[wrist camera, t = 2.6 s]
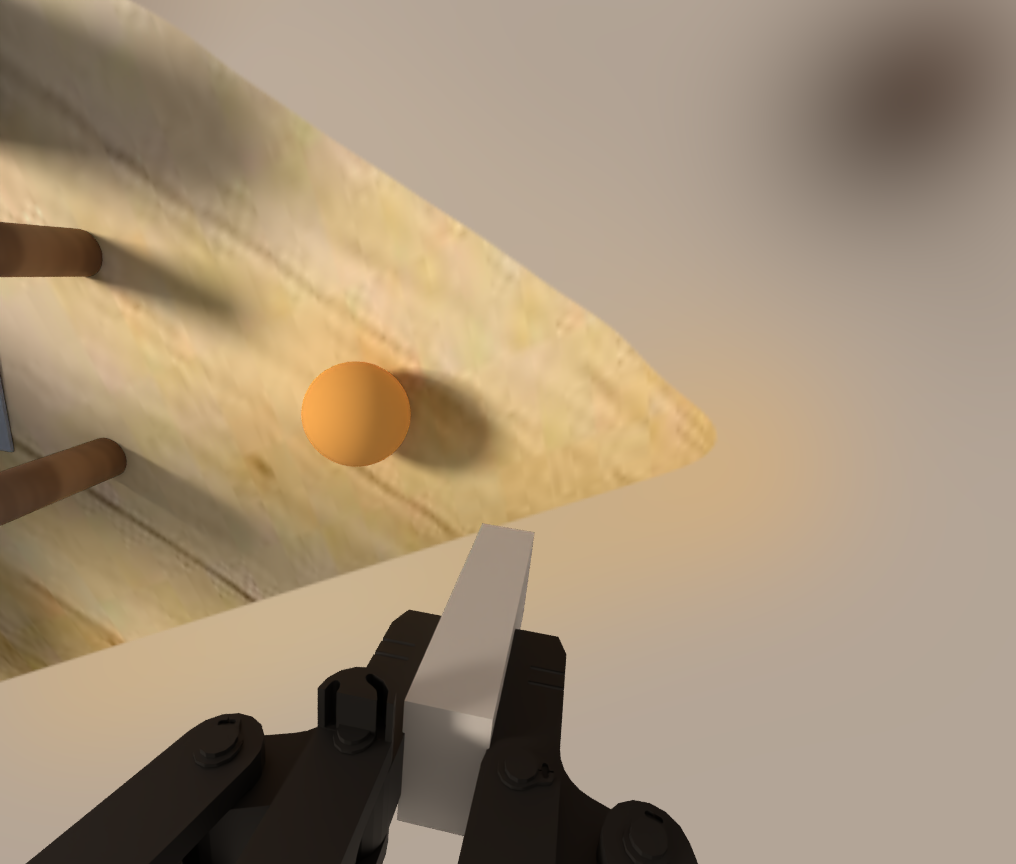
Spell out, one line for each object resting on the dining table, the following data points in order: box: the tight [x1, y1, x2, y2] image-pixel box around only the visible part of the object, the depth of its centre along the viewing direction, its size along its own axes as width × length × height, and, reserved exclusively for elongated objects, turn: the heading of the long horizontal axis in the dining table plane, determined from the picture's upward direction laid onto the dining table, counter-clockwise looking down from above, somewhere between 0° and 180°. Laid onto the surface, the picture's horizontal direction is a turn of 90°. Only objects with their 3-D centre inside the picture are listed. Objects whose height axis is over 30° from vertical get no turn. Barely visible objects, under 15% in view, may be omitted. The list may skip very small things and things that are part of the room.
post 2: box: [0, 438, 126, 526], centre depth 30 cm, size 3×3×9 cm
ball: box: [301, 362, 411, 467], centre depth 28 cm, size 6×6×6 cm
